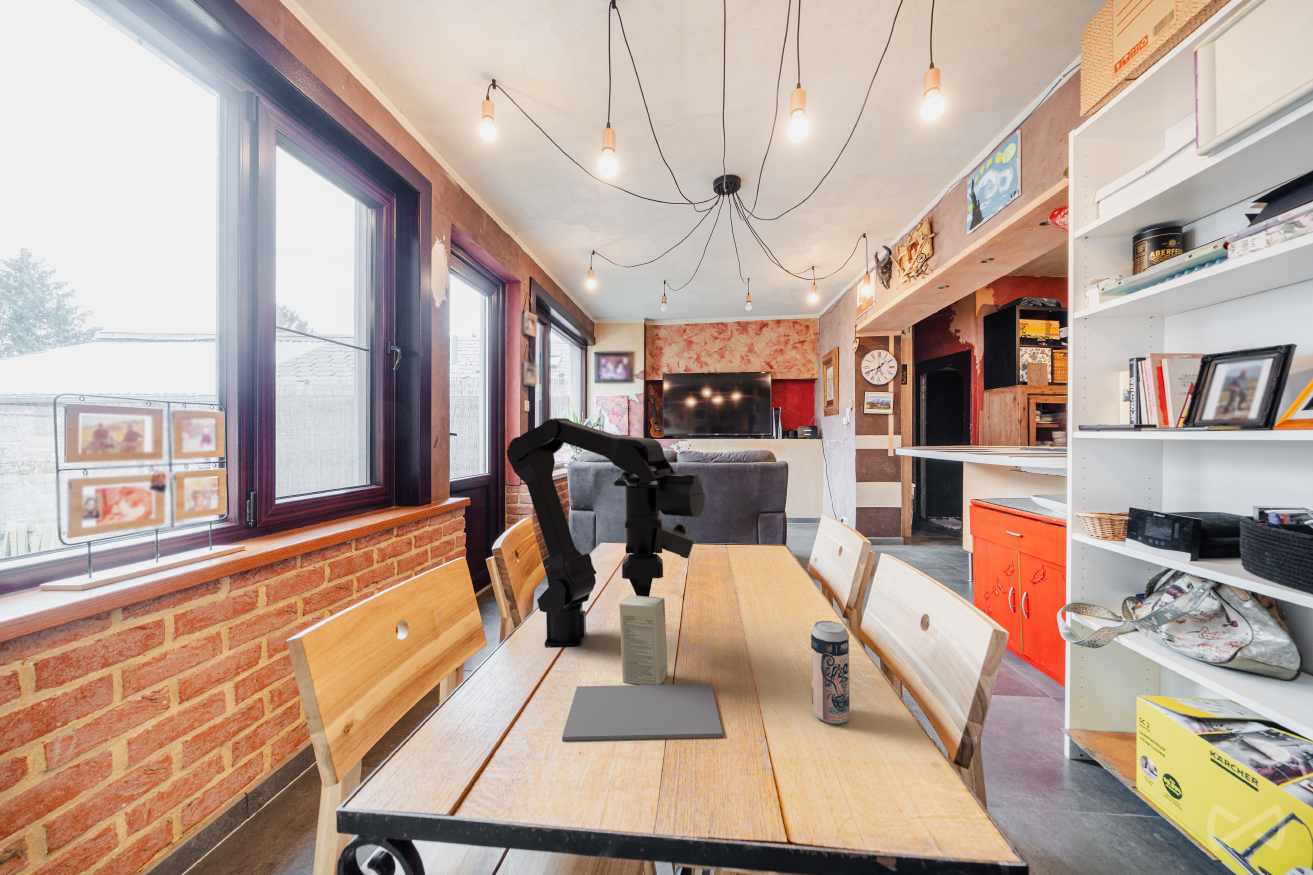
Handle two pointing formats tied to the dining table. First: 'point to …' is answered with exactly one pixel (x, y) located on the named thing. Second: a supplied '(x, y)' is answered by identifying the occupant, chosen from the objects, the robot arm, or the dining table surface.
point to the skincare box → (643, 640)
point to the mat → (643, 712)
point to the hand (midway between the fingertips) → (644, 605)
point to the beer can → (830, 672)
